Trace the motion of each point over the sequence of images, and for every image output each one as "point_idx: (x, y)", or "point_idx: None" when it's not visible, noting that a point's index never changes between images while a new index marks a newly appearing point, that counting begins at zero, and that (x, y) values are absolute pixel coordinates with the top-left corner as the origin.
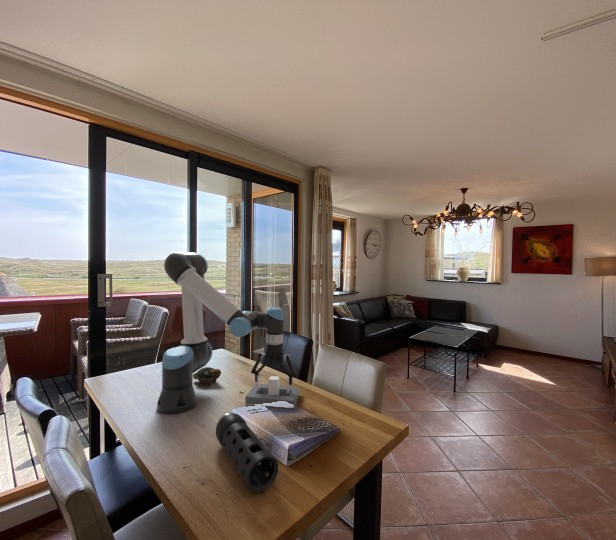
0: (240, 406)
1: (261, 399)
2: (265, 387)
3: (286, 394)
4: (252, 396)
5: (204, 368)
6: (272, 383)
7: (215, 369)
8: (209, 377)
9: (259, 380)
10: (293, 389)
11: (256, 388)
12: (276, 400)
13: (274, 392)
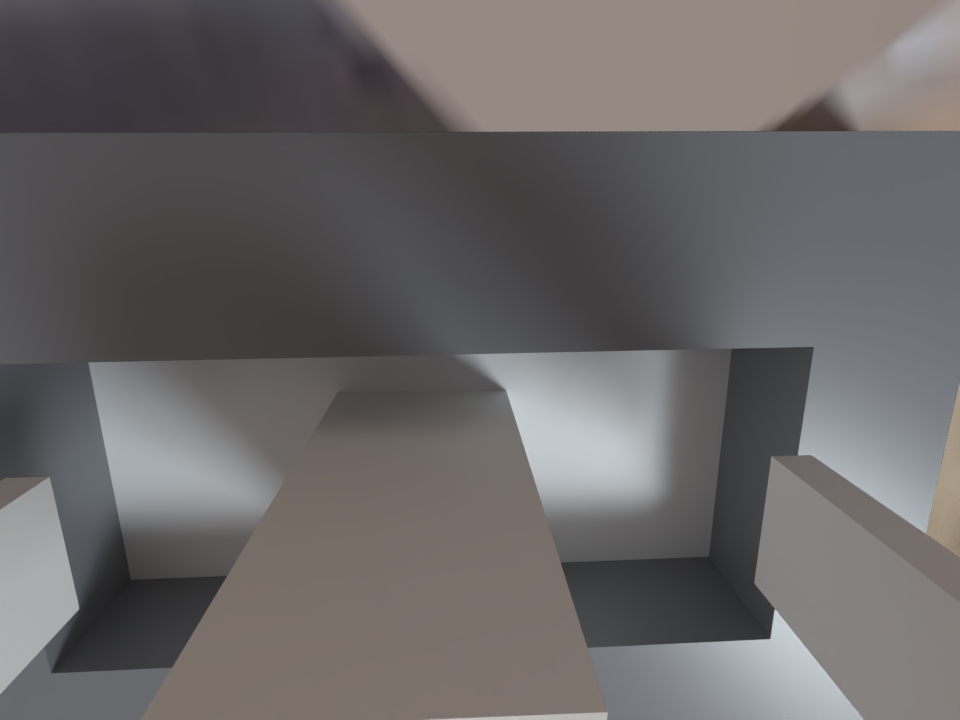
0: (942, 67)
1: (597, 135)
2: (647, 661)
3: (213, 597)
4: (845, 174)
5: None
6: (407, 589)
7: None
8: None
9: (934, 686)
10: (26, 707)
11: None
12: (217, 137)
13: (366, 449)
